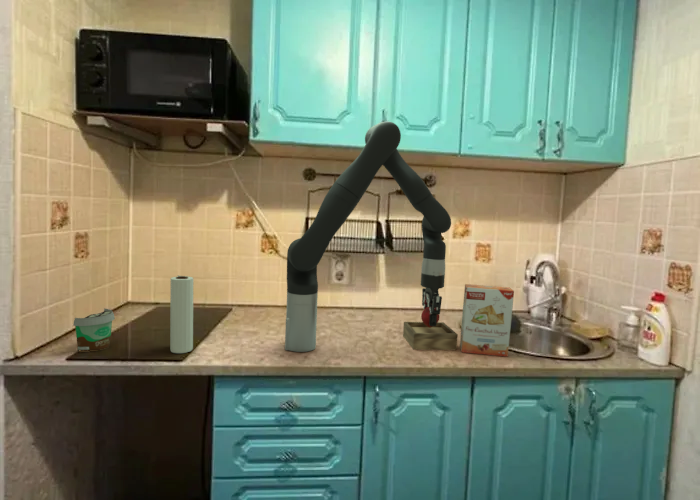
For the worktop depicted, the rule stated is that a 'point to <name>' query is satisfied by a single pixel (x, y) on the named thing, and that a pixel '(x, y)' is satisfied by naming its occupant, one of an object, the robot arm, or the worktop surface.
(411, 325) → the tray
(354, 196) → the robot arm
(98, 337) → the food container
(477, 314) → the cracker box
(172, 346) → the paper towel roll
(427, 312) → the onion
